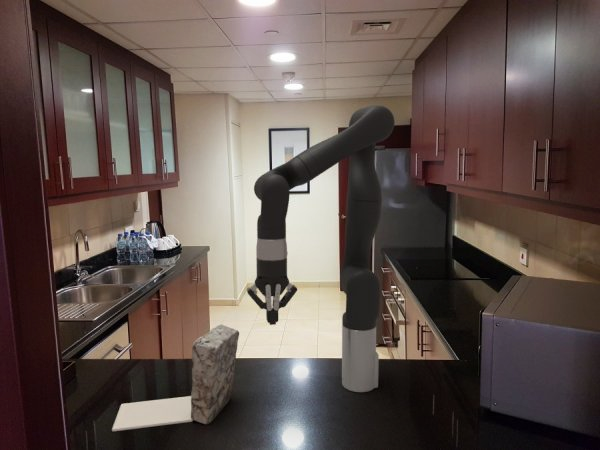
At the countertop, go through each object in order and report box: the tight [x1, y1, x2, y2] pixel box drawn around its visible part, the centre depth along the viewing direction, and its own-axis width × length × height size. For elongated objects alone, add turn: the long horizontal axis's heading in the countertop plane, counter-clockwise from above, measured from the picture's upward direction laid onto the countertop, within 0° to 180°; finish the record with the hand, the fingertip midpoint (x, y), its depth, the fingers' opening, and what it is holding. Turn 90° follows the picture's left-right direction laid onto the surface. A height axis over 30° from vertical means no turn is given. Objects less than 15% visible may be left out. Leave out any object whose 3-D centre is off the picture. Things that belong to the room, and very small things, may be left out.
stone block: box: [190, 324, 240, 425], centre depth 105 cm, size 13×7×20 cm, turn 167°
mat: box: [111, 395, 194, 432], centre depth 106 cm, size 18×11×1 cm, turn 102°
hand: (272, 323), depth 107 cm, fingers closed
